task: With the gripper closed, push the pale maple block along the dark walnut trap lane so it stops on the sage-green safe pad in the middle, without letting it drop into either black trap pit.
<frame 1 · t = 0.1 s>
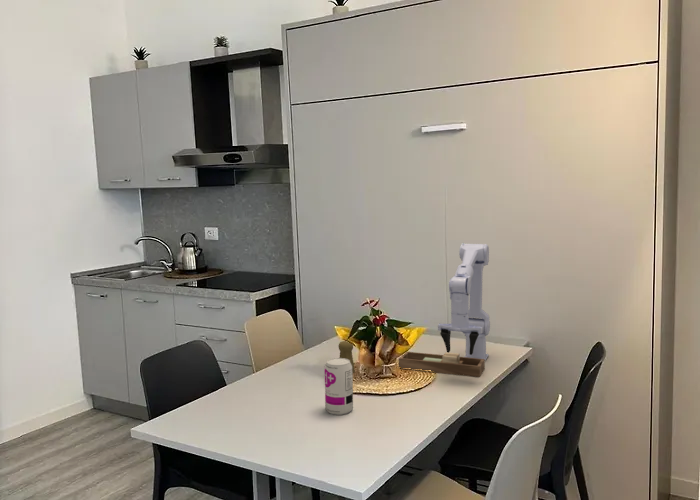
hand: (459, 352, 207), 10 cm above the table, fingers open, 7 cm apart
olive pepper mill: (346, 372, 221), on the table
trap lane: (441, 368, 222), on the table
supplement can: (339, 410, 186), on the table
maple block: (451, 363, 221), point 2 cm above the table, touching trap lane
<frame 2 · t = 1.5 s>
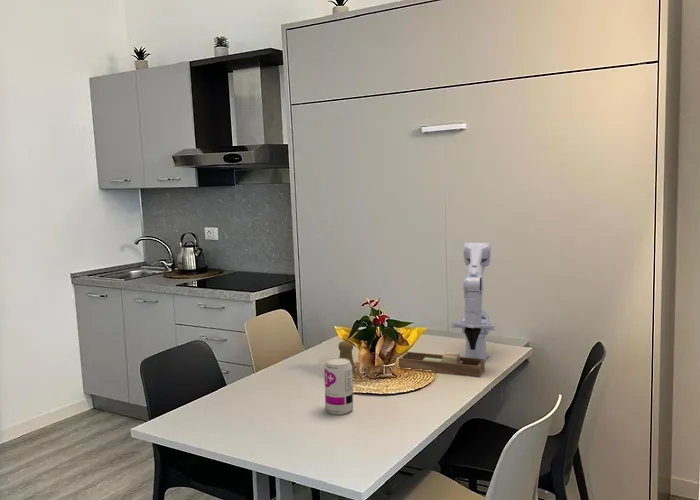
hand: (472, 349, 217), 8 cm above the table, fingers closed
nothing on the table moved.
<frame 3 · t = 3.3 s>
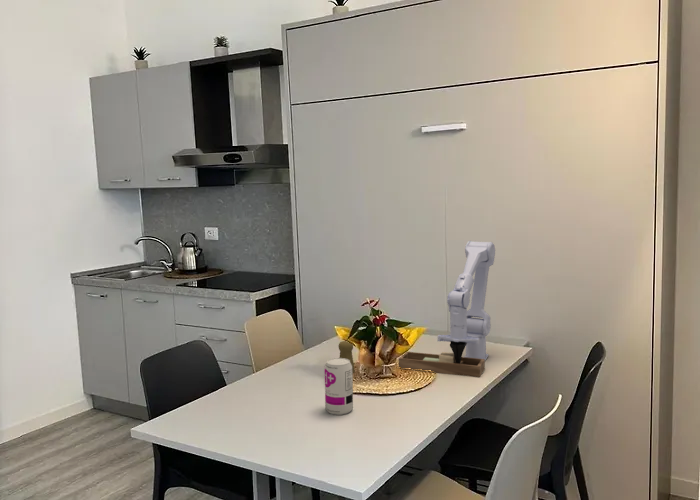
hand: (458, 362, 220), 3 cm above the table, fingers closed
maple block: (447, 362, 221), point 3 cm above the table, touching gripper
everything else where it was.
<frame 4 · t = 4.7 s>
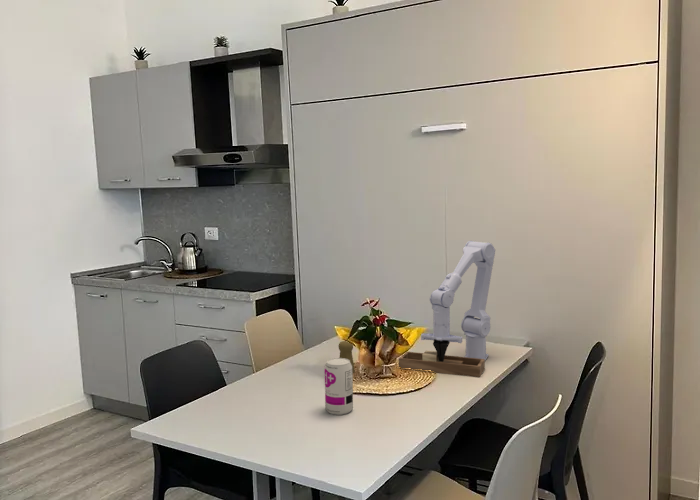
hand: (441, 360, 222), 3 cm above the table, fingers closed
maple block: (431, 361, 223), point 2 cm above the table, touching gripper, trap lane
everything else where it was.
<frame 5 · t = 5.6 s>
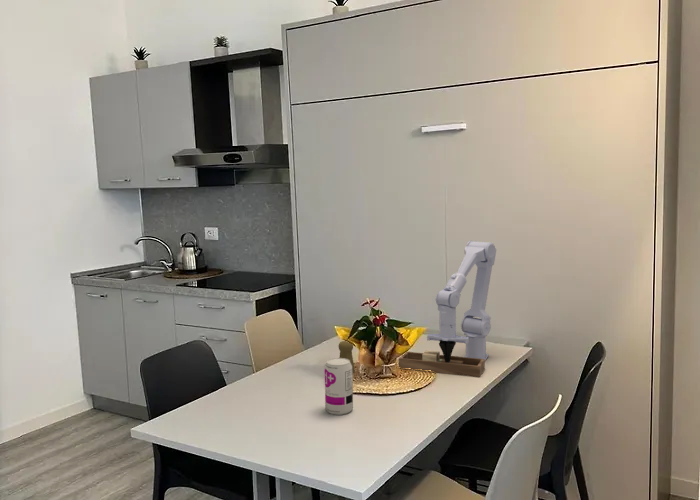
hand: (447, 361, 221), 3 cm above the table, fingers closed
maple block: (431, 361, 223), point 2 cm above the table, touching trap lane
everything else where it was.
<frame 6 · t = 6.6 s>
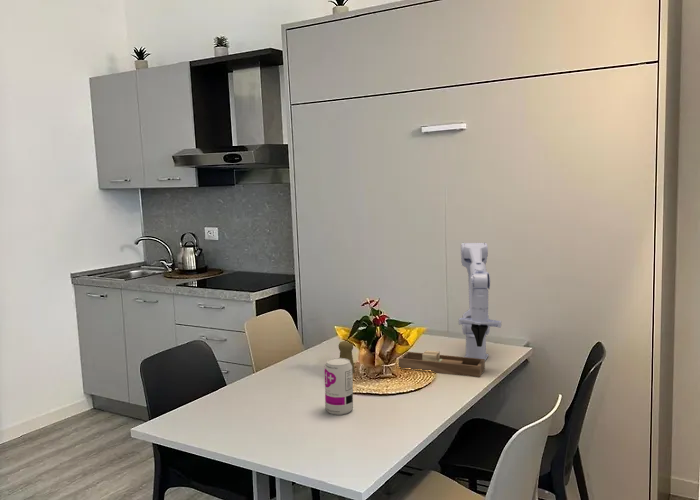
hand: (479, 345, 217), 9 cm above the table, fingers closed
nothing on the table moved.
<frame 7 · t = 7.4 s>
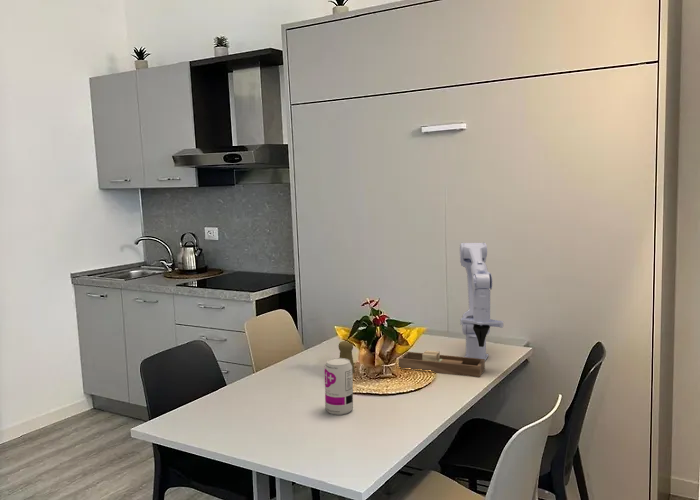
hand: (481, 346, 217), 9 cm above the table, fingers closed
nothing on the table moved.
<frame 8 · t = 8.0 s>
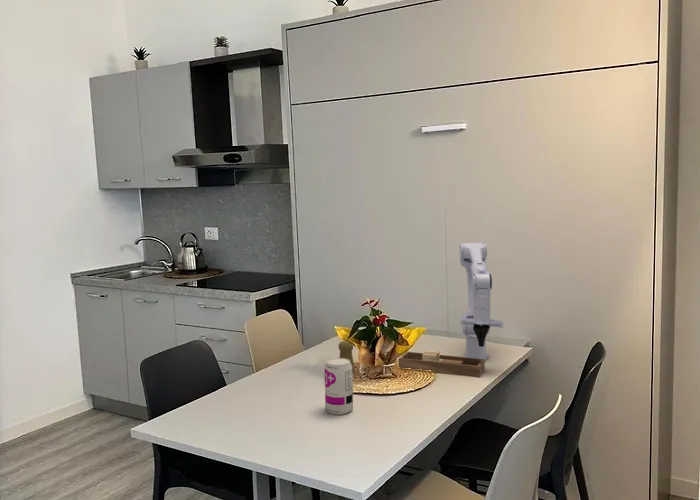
hand: (481, 346, 217), 9 cm above the table, fingers closed
nothing on the table moved.
at the end: maple block 0.1 cm from the target spot, point 2.5 cm above the table; maple block tilted 0°; maple block moved 7.3 cm from its start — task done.
